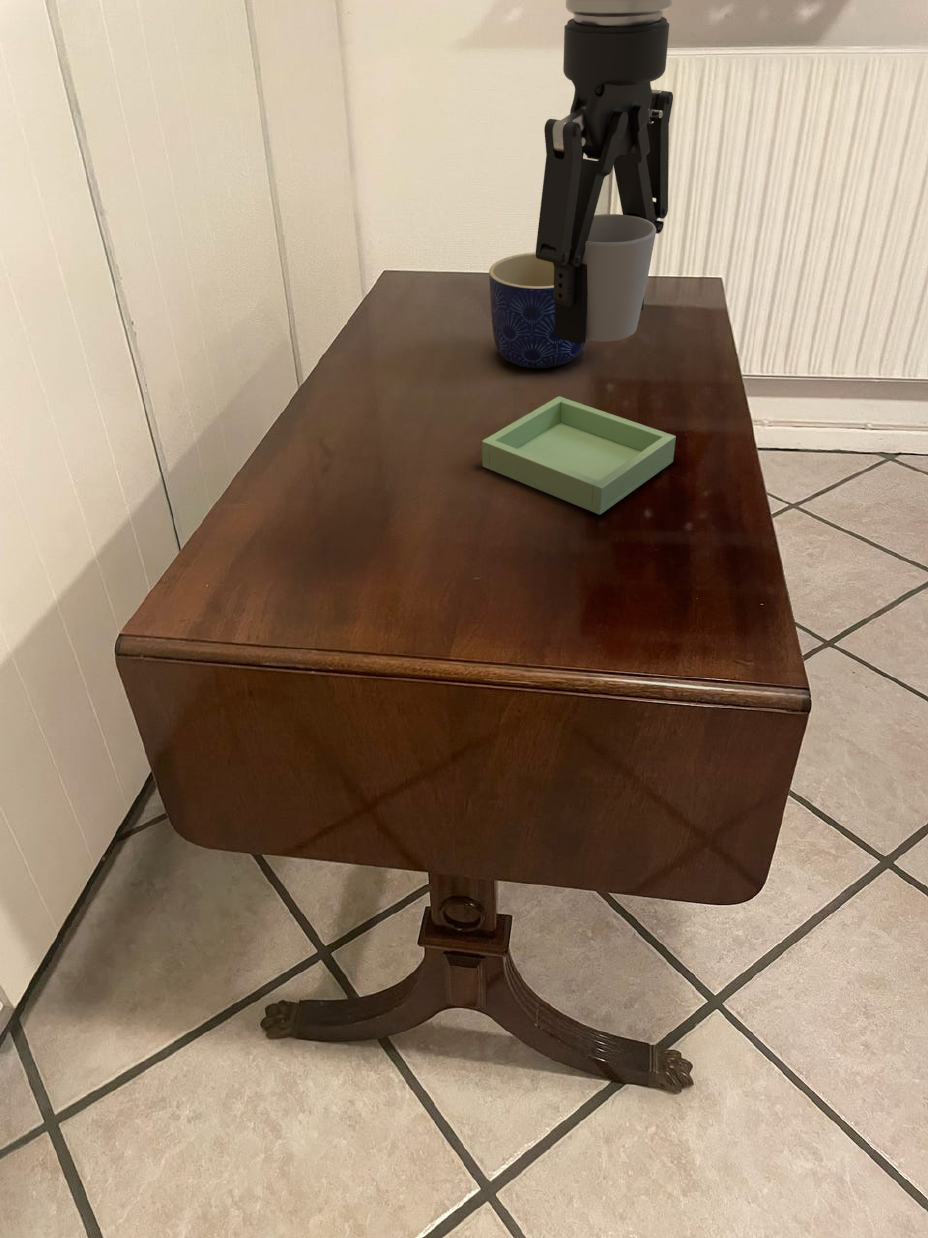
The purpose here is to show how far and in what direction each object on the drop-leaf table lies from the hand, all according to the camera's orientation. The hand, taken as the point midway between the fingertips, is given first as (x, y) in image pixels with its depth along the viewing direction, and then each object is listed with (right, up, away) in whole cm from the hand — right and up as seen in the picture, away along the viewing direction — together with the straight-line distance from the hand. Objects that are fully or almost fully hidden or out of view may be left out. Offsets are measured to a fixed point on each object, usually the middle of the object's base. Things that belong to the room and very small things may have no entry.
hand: (599, 322), depth 83 cm
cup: (0, 0, 0) cm, 1 cm away
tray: (0, -10, +16) cm, 19 cm away
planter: (-2, +7, +38) cm, 39 cm away
